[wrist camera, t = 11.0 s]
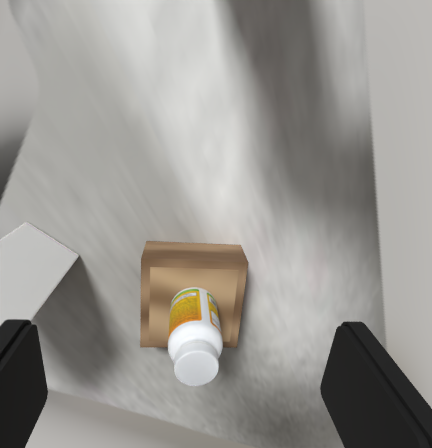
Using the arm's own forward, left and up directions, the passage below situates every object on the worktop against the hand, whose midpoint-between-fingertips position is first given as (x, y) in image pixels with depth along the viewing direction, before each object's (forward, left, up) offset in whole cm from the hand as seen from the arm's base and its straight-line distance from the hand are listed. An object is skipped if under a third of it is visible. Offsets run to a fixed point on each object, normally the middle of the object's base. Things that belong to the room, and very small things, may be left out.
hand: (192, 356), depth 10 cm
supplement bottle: (+14, +2, -24) cm, 27 cm away
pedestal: (+14, +1, -28) cm, 32 cm away
